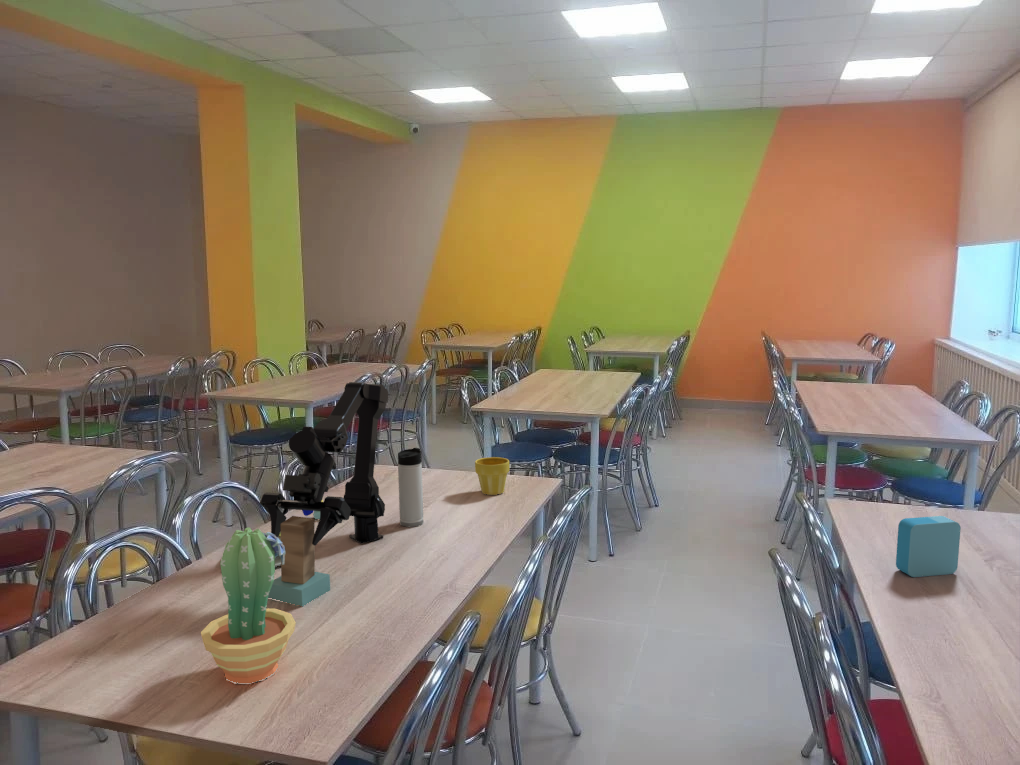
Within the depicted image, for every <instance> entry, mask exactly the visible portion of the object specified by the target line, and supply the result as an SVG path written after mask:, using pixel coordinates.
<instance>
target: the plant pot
mask: <svg viewBox="0 0 1020 765" xmlns="http://www.w3.org/2000/svg"><path fill="white" fill-rule="evenodd" d="M474 469H475V470H474V471H475V473H476V474H477V477H478V482H479V485H480V489H481V493H482V494H483V495H486V494H487V496H498V495H497V494H499V495H502V494H504V493H505V487H506V483H507V482H506V481H507V478H508V474H509V472H510V460H509V459H508V458H506V457H505V458H504V457H499V456H497V457H496V456H490V457H489V456H488V457H482V458H478V459H476V460H475V461H474ZM501 493H502V494H501Z"/></svg>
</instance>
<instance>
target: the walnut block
mask: <svg viewBox="0 0 1020 765" xmlns="http://www.w3.org/2000/svg"><path fill="white" fill-rule="evenodd" d="M314 534H315V519H314V517H313V518H312V517H307V516H297V515H291V516H290V517H289V518H286V521H284V522H283V523H281V542H282V544H283V545H284V547H285V563H284V565H282V560H281V566H280V568H281V569H280V571H281V572H280V576H281V581H284V582H291V583H298V584H304V583H306V582H307V581H308V580H309V579H310V578H311V577H313V576H314V575H315V572H316V571H315V570H316V566H315V561H316V559H315V557H316V554H315V547H316V545H315V546H314V545H313V544H312V541H313V537H314Z"/></svg>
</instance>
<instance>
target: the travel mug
mask: <svg viewBox="0 0 1020 765" xmlns="http://www.w3.org/2000/svg"><path fill="white" fill-rule="evenodd" d="M422 464H423V462H422V450H421V448H419V447H413V448H408V449H407V448H406V449H404V450H403V449H402V450H401V451H399V452H398V453H397V465H398V466H397V473H398V475H397V476H398V477H397V479H398V502H399V503H398V506H399V508H398V509H399V525H400V526H402V527H405V526H406V528H414V527H415V526H416V527H420V526H421V525H423V524H424V498H423V496H424V495H423V494H424V493H423V491H424V490H423V465H422ZM419 525H420V526H419Z"/></svg>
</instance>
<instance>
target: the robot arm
mask: <svg viewBox="0 0 1020 765" xmlns="http://www.w3.org/2000/svg"><path fill="white" fill-rule="evenodd" d="M344 385H345V386H344V391H343V392H342V394H341V396H340V398H339V399H338V401H337V402H336V404H335V406H334V407H333V408H332V411H331V413H330V414H329V416H328V417H327V418H325V419H322V420H320V421H318V423H317V424H316V425H315V426H314V427H313V426H303V428H302V429H301V430H300V431H298V432H295V434H293V435H292V437H290V439H289V440H288V447H289V449H290V451H291V453H293V455H294V457H295V458H296V459H297V460H298V461H299V463H300V464H301V465H302V466H304V468H303V470H302V473H299V474H298V475H293V474H292V475H290V474H285V475H284V480H283V487H282V491H284V492H285V491H286V492H287V491H288V494H289V496H290V497H291V498H293V499H286V498H285V497H284V495H283V494H282V493H281V492H280V493H278V492H265V493H263V494H262V496H260V497H261V498H260V500H259V505H260V506H261V507H262V508H263V509H264V510H265V512H267V513H268V515H269V518H270V533H272V534H274V535H275V536H276V537H278V536H279V534H280V532H281V523H283V522H284V521H286V520H287V516H286V515H287V514H288V512H289V510H296V511H302V510H309V511H313V512H314V511H320V519H319V520H318V523H317V525H316V527H315V530H314V537H313V541H312V544H313V545H314V546H315V547H316V546H317V545H318V544H319V543H320V541H321V540H322V539H323V538H324V537H325V536H326V535H327V534H328V533H329V532H330V531H331V530H332V529H333V528H335V526H337V525H338V524H342V523H343V521H348V520H349V519H350V518H351V517H353V524H354V534H349V538H350V539H352V540H353V541H355V542H357V543H360V544H366V543H371V542H373V541H378V540H380V539H383V538H384V535H383V534H381V533H379V523H378V522H379V520H378V519H379V518H380V517H381V518H382V517H384V516H385V511H386V504H385V502H384V500H383V499H382V498H381V496H380V495H379V494H380V492H379V490H380V488H379V486H378V483H377V481H376V480H375V477H374V472H375V471H374V470H375V461H376V460H375V459H376V450H377V449H376V448H377V447H376V446H377V438H378V437H377V435H378V425H379V423H378V422H379V419H380V418H381V416H382V415H383V413H384V412H385V411H386V406H387V402H388V400H389V391H388V389H387V388H386V387H385V386H384V384H383V383H382V384H380V383H379V384H378V383H376V384H375V383H374V384H373V383H371V384H370V383H366V382H364V381H363V382H361V381H359V382H357V381H350V382H346V384H344ZM356 414H357V417H358V422H357V423H358V424H357V433H356V435H357V436H356V447H355V456H354V457H355V460H354V468H353V472H354V473H353V476H352V477H351V479H350V480H349V481H347V482H346V483H345V486H344V494H343V497H342V496H331V495H329V496H328V495H327V496H325V498H324V499H323V497H324V495H325V493H328V492H329V487H328V482H329V479H330V476H331V472H332V470H336V469H337V463H336V462H335V459H334V456H332V455H331V453H335V454H336V453H341V452H343V450H344V449H345V447H346V445H347V443H348V440H349V436H348V432H347V430H348V428H349V426H350V424H351V422H352V421H353V419H354V417H355V415H356ZM322 500H323V502H321V501H322Z"/></svg>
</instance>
